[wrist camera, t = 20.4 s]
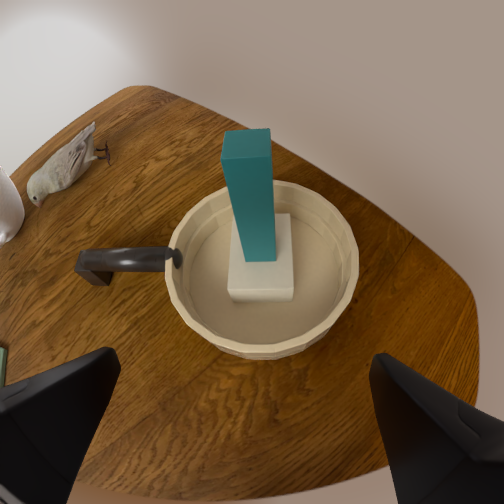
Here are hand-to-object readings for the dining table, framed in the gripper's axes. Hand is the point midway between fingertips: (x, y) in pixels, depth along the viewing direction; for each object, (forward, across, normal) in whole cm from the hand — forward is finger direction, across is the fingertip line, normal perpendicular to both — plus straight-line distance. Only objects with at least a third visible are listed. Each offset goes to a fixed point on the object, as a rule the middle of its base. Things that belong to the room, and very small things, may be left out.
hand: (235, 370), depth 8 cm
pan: (+16, 0, +3) cm, 17 cm away
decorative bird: (+28, +30, -8) cm, 42 cm away
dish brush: (+16, 0, +2) cm, 17 cm away
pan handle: (+16, +12, +3) cm, 21 cm away
